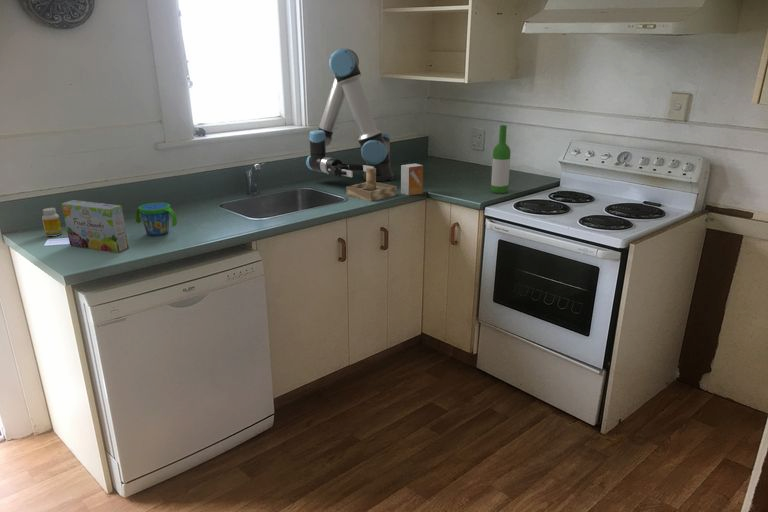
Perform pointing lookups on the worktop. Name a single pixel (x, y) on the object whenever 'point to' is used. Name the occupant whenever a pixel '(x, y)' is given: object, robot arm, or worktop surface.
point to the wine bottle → (501, 164)
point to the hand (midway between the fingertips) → (363, 172)
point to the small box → (411, 179)
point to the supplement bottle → (51, 222)
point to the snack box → (95, 225)
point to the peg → (370, 179)
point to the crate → (379, 193)
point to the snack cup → (155, 217)
